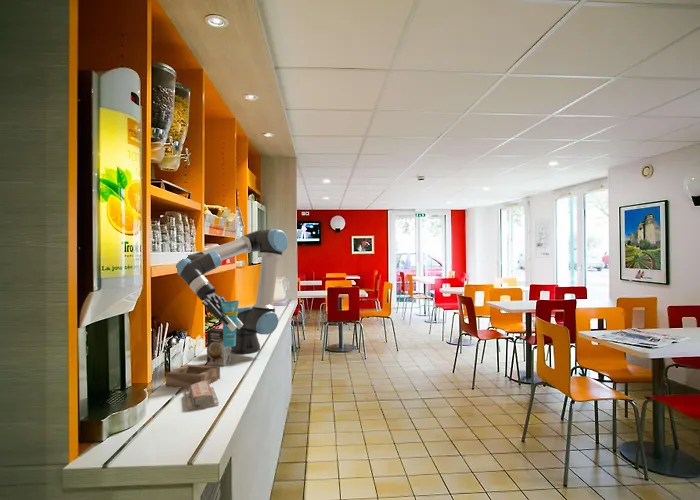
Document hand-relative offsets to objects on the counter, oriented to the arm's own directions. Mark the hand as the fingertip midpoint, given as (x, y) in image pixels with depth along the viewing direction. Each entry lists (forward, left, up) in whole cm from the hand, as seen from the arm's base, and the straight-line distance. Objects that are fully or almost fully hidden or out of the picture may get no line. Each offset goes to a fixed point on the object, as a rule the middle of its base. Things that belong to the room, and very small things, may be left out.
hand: (237, 328), depth 175 cm
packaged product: (+28, +1, -21) cm, 35 cm away
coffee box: (-15, -18, -21) cm, 32 cm away
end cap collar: (+12, -13, -20) cm, 27 cm away
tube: (0, -4, -8) cm, 9 cm away
